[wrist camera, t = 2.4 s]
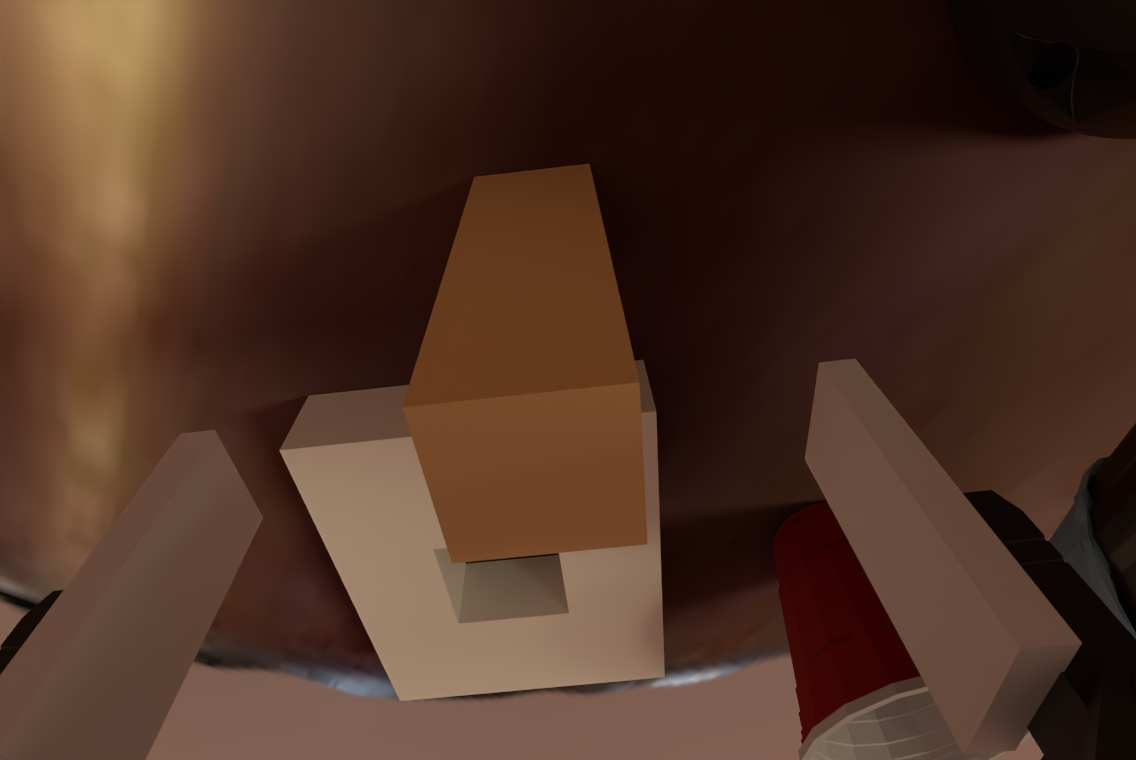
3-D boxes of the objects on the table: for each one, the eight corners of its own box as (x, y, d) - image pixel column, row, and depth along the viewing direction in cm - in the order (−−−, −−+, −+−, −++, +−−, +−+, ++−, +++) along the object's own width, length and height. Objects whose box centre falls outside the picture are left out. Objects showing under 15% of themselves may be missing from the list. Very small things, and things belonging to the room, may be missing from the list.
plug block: (589, 163, 24) (639, 382, 12) (598, 270, 27) (647, 544, 14) (474, 176, 24) (401, 407, 12) (493, 282, 27) (452, 563, 14)
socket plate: (643, 359, 29) (656, 411, 26) (654, 618, 40) (664, 677, 37) (308, 395, 30) (279, 450, 26) (411, 640, 41) (400, 701, 38)
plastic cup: (813, 614, 41) (900, 826, 31) (693, 552, 37) (748, 770, 27) (957, 519, 36) (1114, 732, 26) (837, 436, 32) (968, 649, 22)
